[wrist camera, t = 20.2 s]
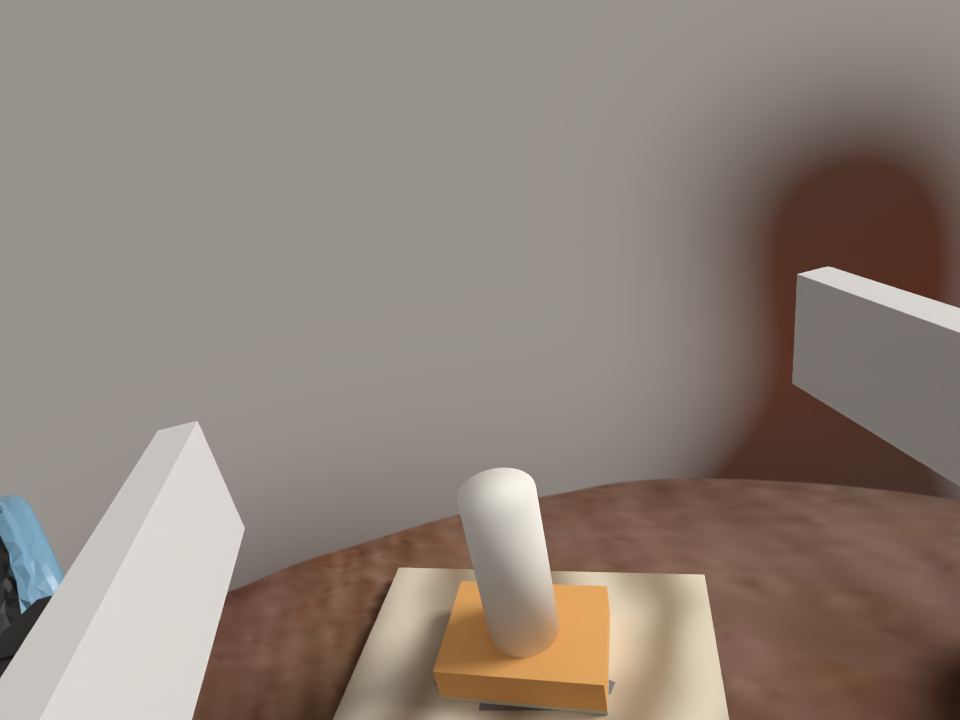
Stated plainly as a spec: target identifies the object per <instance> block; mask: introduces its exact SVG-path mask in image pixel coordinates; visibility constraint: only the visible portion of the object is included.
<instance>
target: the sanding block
mask: <svg viewBox="0 0 960 720" xmlns="http://www.w3.org/2000/svg"><path fill="white" fill-rule="evenodd" d="M457 503H458V507H459V511H460V516H461V520H462V524H463V528H464V532H465V536H466V540H467V544H468V548H469V553H470V557H471V561H472V565H473V569H474V573H475V577H476V581H477V582H471V581H461V583H460V586H459V590H458V593H457V596H456V599H455V603H454V606H453V609H452V612H451V615H450V619H449V622H448V625H447V628H446V631H445V635H444V638H443V641H442V644H441V647H440V651H439V654H438V657H437V660H436V663H435V667H434V670H433V674H434V677H435V680H436V683H437V687H438V690H439V693H440V696H441V699H443V700H453V701H464V702H475V703H486V704H497V705H508V706H519V707H529V708H540V709H551V710H562V711H573V712H584V713H595V714H605V715H608V694H609V649H610V607H609V599H608V591H607V586H587V585H558V584H552V578H551V573H550V567H549V561H548V555H547V549H546V544H545V538H544V532H543V526H542V520H541V514H540V509H539V503H538V497H537V492H536V485H535V482H534V480H533V479H532V478H531V477H530V476H529V475H528V474H527V473H525V472H523V471H521V470H517V469H513V468H495V469H490V470H486V471H483V472H480V473H478V474H476V475H474V476H473V477H471V478H470V479H468V480H467V481H466V482H465V483H464V484H463V485H462V486H461V488H460V489H459V491H458V494H457Z"/></svg>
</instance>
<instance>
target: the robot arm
mask: <svg viewBox="0 0 960 720" xmlns="http://www.w3.org/2000/svg"><path fill="white" fill-rule="evenodd" d="M795 317H796V318H795V338H794V359H793V384H794V385H796V386H798V387H799V388H801V389H803V390H804V391H806V392H807V393H809V394H811V395H812V396H814V397H816V398H817V399H819V400H820V401H822V402H824V403H825V404H827V405H829V406H830V407H832V408H833V409H835V410H837V411H838V412H840V413H841V414H843V415H845V416H846V417H848V418H850V419H851V420H853V421H855V422H856V423H858V424H859V425H861V426H863V427H864V428H866V429H868V430H869V431H871V432H872V433H874V434H876V435H877V436H879V437H881V438H882V439H884V440H885V441H887V442H889V443H890V444H892V445H893V446H895V447H897V448H898V449H900V450H902V451H903V452H905V453H906V454H908V455H910V456H911V457H913V458H915V459H916V460H918V461H920V462H921V463H923V464H924V465H926V466H928V467H929V468H931V469H932V470H934V471H936V472H937V473H939V474H940V475H942V476H944V477H945V478H947V479H949V480H950V481H952V482H954V483H955V484H957V485H958V486H960V308H957V307H954V306H951V305H947V304H944V303H941V302H938V301H935V300H932V299H929V298H926V297H923V296H919V295H916V294H913V293H910V292H907V291H904V290H900V289H897V288H894V287H891V286H888V285H885V284H882V283H879V282H876V281H872V280H869V279H866V278H863V277H860V276H857V275H853V274H851V273H848V272H844V271H841V270H838V269H835V268H832V267H829V266H828V267H824V268H820V269H816V270H812V271H808V272H804V273H800V274H797V296H796V316H795ZM244 529H245V528H244V526H243V523H242V521H241V519H240V517H239V515H238V512H237V510H236V508H235V505H234V503H233V501H232V498H231V496H230V494H229V492H228V489H227V487H226V485H225V483H224V480H223V478H222V476H221V473H220V471H219V469H218V467H217V464H216V462H215V460H214V458H213V455H212V453H211V451H210V448H209V446H208V444H207V442H206V439H205V437H204V435H203V432H202V430H201V428H200V426H199V423H198V421H195V422H191V423H187V424H183V425H179V426H175V427H171V428H166V429H163V430H158V432H157V433H156V435H155V436H154V438H153V440H152V441H151V443H150V444H149V446H148V447H147V449H146V450H145V452H144V454H143V455H142V457H141V458H140V460H139V461H138V463H137V465H136V466H135V468H134V469H133V471H132V472H131V474H130V476H129V477H128V479H127V480H126V482H125V483H124V485H123V487H122V488H121V490H120V491H119V493H118V494H117V496H116V498H115V499H114V501H113V502H112V504H111V505H110V507H109V508H108V510H107V512H106V513H105V515H104V516H103V518H102V519H101V521H100V523H99V524H98V526H97V527H96V529H95V530H94V532H93V534H92V535H91V537H90V538H89V540H88V542H87V543H86V545H85V546H84V548H83V549H82V551H81V552H80V554H79V556H78V557H77V559H76V560H75V562H74V563H73V565H72V567H71V568H70V570H69V571H68V573H67V574H66V576H65V577H64V575H63V572H62V570H61V567H60V565H59V563H58V561H57V558H56V556H55V554H54V552H53V550H52V548H51V545H50V543H49V541H48V539H47V537H46V535H45V533H44V531H43V529H42V527H41V524H40V522H39V520H38V518H37V516H36V515H35V513H34V511H33V509H32V507H31V506H30V504H29V502H28V501H27V500H26V499H24V498H23V497H20V496H17V495H8V496H3V497H1V498H0V720H192V717H193V714H194V710H195V706H196V703H197V699H198V696H199V692H200V688H201V685H202V681H203V677H204V674H205V670H206V667H207V663H208V659H209V656H210V652H211V648H212V645H213V641H214V638H215V634H216V630H217V627H218V623H219V620H220V616H221V612H222V609H223V605H224V601H225V598H226V594H227V591H228V587H229V583H230V580H231V576H232V572H233V569H234V565H235V562H236V558H237V554H238V551H239V547H240V544H241V540H242V536H243V532H244Z"/></svg>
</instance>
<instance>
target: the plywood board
mask: <svg viewBox="0 0 960 720" xmlns="http://www.w3.org/2000/svg"><path fill="white" fill-rule="evenodd" d="M550 573H551V578H552V584H558V585H587V586H607V591H608V599H609V607H610V649H609V694H608V715H605V714H595V713H584V712H573V711H562V710H551V709H540V708H529V707H519V706H508V705H497V704H486V703H475V702H464V701H453V700H443V699H441V696H440V693H439V690H438V687H437V683H436V680H435V677H434V674H433V670H434V667H435V663H436V660H437V657H438V654H439V651H440V647H441V644H442V641H443V638H444V635H445V631H446V628H447V625H448V622H449V619H450V615H451V612H452V609H453V606H454V603H455V599H456V596H457V593H458V590H459V586H460V583H461V581H471V582H477V581H476V577H475V573H474V569H432V568H399V569H398V571H397V573H396V575H395V578H394V580H393V582H392V585H391V587H390V589H389V592H388V594H387V596H386V599H385V601H384V603H383V605H382V608H381V610H380V612H379V615H378V617H377V619H376V622H375V624H374V626H373V628H372V631H371V633H370V635H369V638H368V640H367V642H366V645H365V647H364V649H363V651H362V654H361V656H360V658H359V661H358V663H357V665H356V668H355V670H354V672H353V674H352V677H351V679H350V681H349V684H348V686H347V688H346V691H345V693H344V695H343V697H342V700H341V702H340V704H339V707H338V709H337V711H336V714H335V716H334V718H333V720H729V716H728V710H727V705H726V699H725V693H724V687H723V681H722V675H721V669H720V664H719V658H718V652H717V646H716V640H715V634H714V628H713V622H712V617H711V611H710V605H709V599H708V593H707V587H706V581H705V576H704V575H695V574H651V573H607V572H563V571H550Z"/></svg>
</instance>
